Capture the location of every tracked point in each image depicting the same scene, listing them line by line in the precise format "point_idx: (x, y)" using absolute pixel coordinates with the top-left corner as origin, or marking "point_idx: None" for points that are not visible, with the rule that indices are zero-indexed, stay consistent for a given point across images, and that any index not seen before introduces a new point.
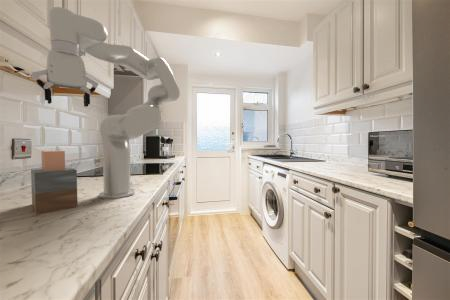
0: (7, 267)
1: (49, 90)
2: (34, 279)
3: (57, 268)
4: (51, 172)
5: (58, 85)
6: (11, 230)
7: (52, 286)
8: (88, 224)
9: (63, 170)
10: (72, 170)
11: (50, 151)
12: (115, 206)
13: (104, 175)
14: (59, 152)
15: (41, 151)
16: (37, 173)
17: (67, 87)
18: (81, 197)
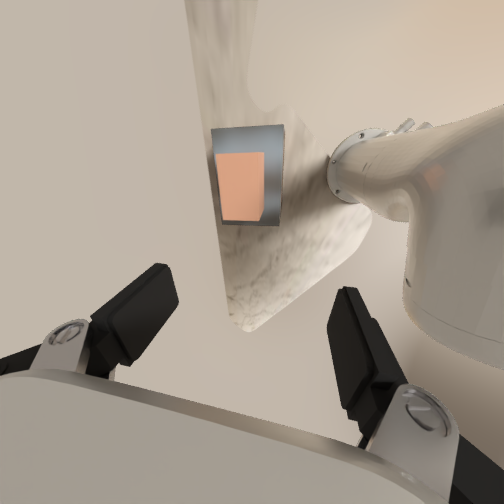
0: (227, 300)
1: (132, 357)
2: (238, 317)
3: (246, 316)
4: (242, 224)
5: (76, 397)
6: (222, 243)
7: (243, 326)
8: (273, 274)
9: (259, 220)
10: (272, 225)
11: (233, 218)
12: (317, 240)
13: (346, 177)
14: (249, 219)
15: (216, 160)
16: (225, 224)
17: (193, 413)
18: (305, 135)
